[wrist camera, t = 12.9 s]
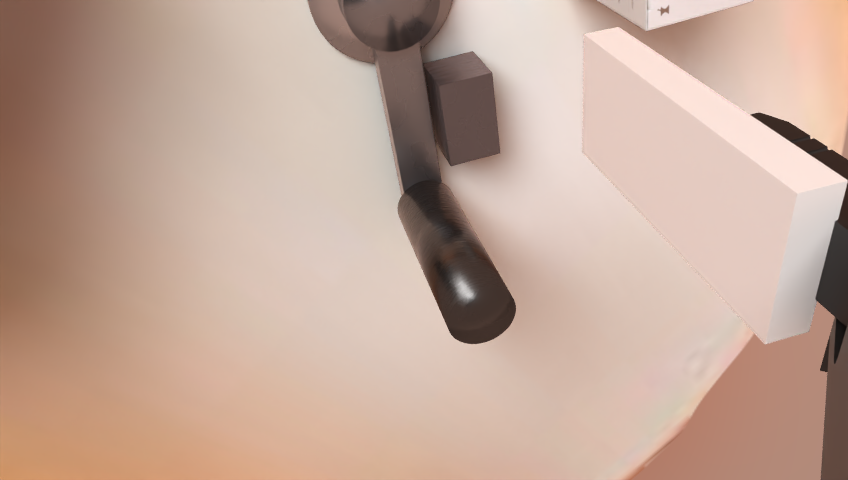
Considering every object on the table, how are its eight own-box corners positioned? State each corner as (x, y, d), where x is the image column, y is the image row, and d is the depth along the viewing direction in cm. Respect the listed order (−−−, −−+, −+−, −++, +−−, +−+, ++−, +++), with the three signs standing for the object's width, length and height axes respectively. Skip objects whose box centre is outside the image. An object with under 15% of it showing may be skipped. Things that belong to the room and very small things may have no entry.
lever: (327, -47, 38) (375, 30, 28) (457, -76, 39) (550, -13, 29) (387, 227, 48) (439, 355, 38) (490, 199, 49) (567, 317, 39)
